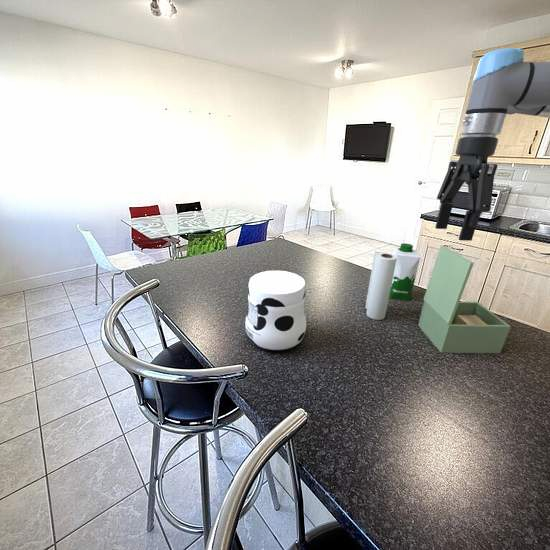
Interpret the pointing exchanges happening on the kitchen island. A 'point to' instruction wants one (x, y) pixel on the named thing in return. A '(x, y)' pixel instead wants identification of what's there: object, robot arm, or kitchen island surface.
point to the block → (469, 320)
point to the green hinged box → (465, 330)
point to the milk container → (276, 310)
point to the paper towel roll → (380, 284)
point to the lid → (447, 283)
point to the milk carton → (404, 272)
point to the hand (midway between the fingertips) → (452, 233)
